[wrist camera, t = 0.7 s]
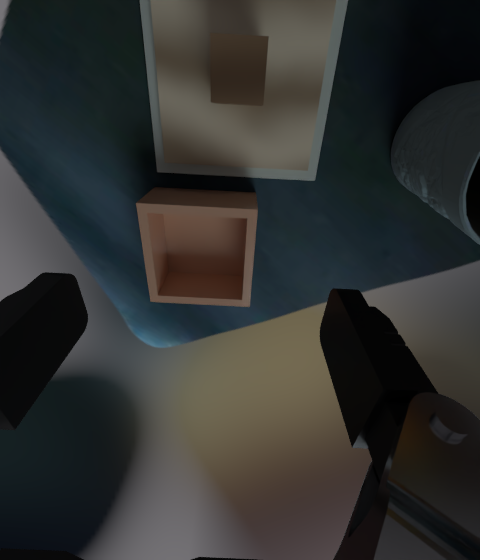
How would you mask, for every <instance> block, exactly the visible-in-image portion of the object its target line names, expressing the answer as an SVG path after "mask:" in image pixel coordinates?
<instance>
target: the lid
mask: <svg viewBox="0 0 480 560" xmlns="http://www.w3.org/2000/svg"><path fill="white" fill-rule="evenodd" d="M150 1H151V13H152V24H153V36H154V47H155V58H156V70H157V81H158V93H159V104H160V115H161V127H162V138H163V150H164V161H165V163H177V164H195V165H213V166H231V167H249V168H267V169H285V170H303V171H308V166H309V160H310V154H311V148H312V142H313V136H314V130H315V125H316V119H317V113H318V107H319V101H320V95H321V89H322V83H323V77H324V71H325V65H326V59H327V53H328V47H329V41H330V35H331V29H332V23H333V17H334V11H335V5H336V0H150Z"/></svg>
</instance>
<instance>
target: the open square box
mask: <svg viewBox="0 0 480 560" xmlns="http://www.w3.org/2000/svg"><path fill="white" fill-rule="evenodd" d="M136 206H137V213H138V220H139V227H140V233H141V240H142V247H143V253H144V260H145V267H146V274H147V280H148V287H149V294H150V300H151V302H166V303H185V304H205V305H224V306H244V307H250V296H251V284H252V272H253V260H254V248H255V236H256V225H257V213H258V207H257V199H256V193H254V192H236V191H217V190H199V189H181V188H163V187H154V188H153V189H152V190H151V191H150V192H148V193H147V194H146V195H145V196H144V197H143V198H141V199H140V200H139V201H138V202H137V203H136Z"/></svg>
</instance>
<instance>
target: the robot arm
mask: <svg viewBox="0 0 480 560" xmlns="http://www.w3.org/2000/svg"><path fill="white" fill-rule="evenodd" d="M87 322H88V314H87V310H86V307H85V304H84V301H83V298H82V295H81V291H80V288H79V285H78V282H77V280H76V278H75V276H74V275H72V274H65V273H42V274H40V275H39V276H38V277H37V278H36V279H34V280H33V281H32V282H31V283H30V284H28V285H27V286H26V287H25V288H23V289H21V290H19V291H17V292H15V293H13V294H11V295H9V296H7V297H6V298H4V299H3V300H2V301H1V302H0V429H5V430H6V429H8V430H15V429H16V428H17V426H18V425H19V424H20V422H21V421H22V419H23V418H24V417H25V415H26V413H27V412H28V410H29V409H30V408H31V407H32V405H33V404H34V402H35V401H36V399H37V398H38V397H39V395H40V394H41V392H42V391H43V389H44V388H45V387H46V385H47V384H48V382H49V381H50V380H51V378H52V377H53V375H54V374H55V372H56V371H57V370H58V368H59V367H60V365H61V364H62V362H63V361H64V360H65V358H66V357H67V355H68V354H69V353H70V351H71V350H72V348H73V346H74V345H75V344H76V343H77V341H78V340H79V338H80V337H81V335H82V334H83V333H84V331H85V329H86V326H87ZM320 342H321V346H322V349H323V353H324V356H325V359H326V363H327V366H328V369H329V373H330V376H331V379H332V383H333V386H334V389H335V393H336V396H337V399H338V402H339V405H340V409H341V412H342V416H343V419H344V422H345V426H346V429H347V432H348V435H349V439H350V442H351V445H352V447H353V448H368V449H369V452H370V455H371V458H372V462H371V463H370V465H369V468H368V471H367V473H366V476H365V479H364V482H363V485H362V487H361V490H360V493H359V496H358V498H357V501H356V504H355V507H354V510H353V512H352V516H351V518H350V521H349V524H348V526H347V529H346V532H345V535H344V537H343V540H342V542H341V545H340V547H339V549H338V551H337V553H336V555H335V557H334V559H333V560H480V420H479V419H478V418H477V417H476V416H475V415H474V414H473V413H472V412H471V411H470V410H468V409H467V408H466V407H464V406H463V405H462V404H460V403H458V402H456V401H455V400H453V399H451V398H449V397H446V396H443V395H441V394H438V392H437V391H436V389H435V388H434V386H433V385H432V383H431V382H430V380H429V378H428V377H427V375H426V374H425V372H424V371H423V369H422V368H421V366H420V365H419V364H418V362H417V360H416V359H415V357H414V355H413V354H412V352H411V351H410V349H409V348H408V347H407V346H405V342H404V340H403V339H402V337H401V336H400V335H398V331H397V329H396V328H395V326H394V325H393V323H392V322H391V320H390V319H389V318H388V317H387V316H386V315H384V314H383V313H382V312H381V311H380V310H378V309H377V308H376V307H369V306H368V304H367V302H366V301H365V299H364V297H363V295H362V294H361V292H360V291H359V290H353V289H332V290H331V292H330V294H329V298H328V301H327V305H326V308H325V312H324V316H323V319H322V323H321V327H320ZM0 560H83V559H81V558H79V557H77V556H75V555H73V554H71V553H69V552H67V551H49V550H48V551H47V550H25V549H24V550H23V549H3V548H1V550H0ZM192 560H254V559H233V558H232V559H231V558H210V557H198V558H195V559H192ZM255 560H256V559H255Z"/></svg>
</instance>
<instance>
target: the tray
mask: <svg viewBox="0 0 480 560" xmlns="http://www.w3.org/2000/svg"><path fill="white" fill-rule="evenodd" d="M347 2H348V0H336V5H335V11H334V17H333V23H332V29H331V35H330V41H329V47H328V53H327V59H326V65H325V71H324V77H323V83H322V89H321V95H320V101H319V107H318V113H317V119H316V125H315V130H314V136H313V142H312V148H311V154H310V160H309V166H308V171H303V170H285V169H267V168H249V167H231V166H213V165H195V164H177V163H165V161H164V150H163V138H162V127H161V115H160V104H159V93H158V81H157V70H156V58H155V47H154V36H153V24H152V13H151V1H150V0H140V9H141V19H142V29H143V38H144V48H145V58H146V68H147V77H148V87H149V97H150V107H151V116H152V126H153V136H154V146H155V155H156V165H157V172H164V173H182V174H200V175H218V176H236V177H254V178H272V179H291V180H309V181H315V177H316V171H317V166H318V161H319V155H320V150H321V144H322V139H323V133H324V128H325V122H326V117H327V111H328V106H329V101H330V95H331V90H332V84H333V79H334V73H335V68H336V62H337V57H338V51H339V46H340V40H341V35H342V30H343V24H344V19H345V13H346V8H347Z"/></svg>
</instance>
